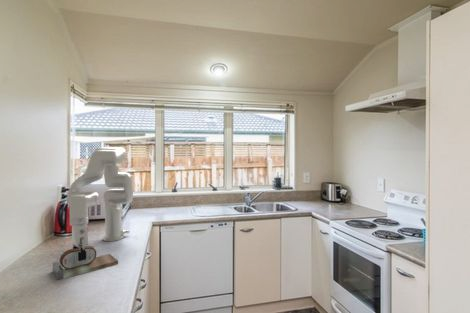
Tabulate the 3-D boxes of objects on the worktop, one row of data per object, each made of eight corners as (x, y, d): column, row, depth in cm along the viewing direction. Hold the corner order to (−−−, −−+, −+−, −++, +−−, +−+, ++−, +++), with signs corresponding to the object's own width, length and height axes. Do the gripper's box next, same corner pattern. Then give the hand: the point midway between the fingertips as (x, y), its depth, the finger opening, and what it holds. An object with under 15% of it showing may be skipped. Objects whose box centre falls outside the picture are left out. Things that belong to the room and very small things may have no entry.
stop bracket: (57, 269, 123) (57, 261, 123) (63, 278, 115) (63, 269, 115) (52, 270, 122) (52, 262, 122) (57, 280, 113) (57, 270, 113)
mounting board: (109, 256, 139) (109, 253, 139) (117, 263, 131) (117, 260, 130) (57, 269, 123) (57, 266, 123) (63, 278, 115) (63, 275, 115)
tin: (95, 260, 130) (95, 243, 130) (97, 262, 128) (97, 245, 128) (59, 269, 120) (59, 251, 120) (60, 272, 118) (60, 253, 118)
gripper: (93, 223, 120) (93, 260, 121) (83, 216, 133) (83, 249, 133) (74, 226, 115) (74, 265, 116) (65, 218, 128) (66, 253, 128)
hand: (79, 256), depth 124 cm, fingers open, 9 cm apart
